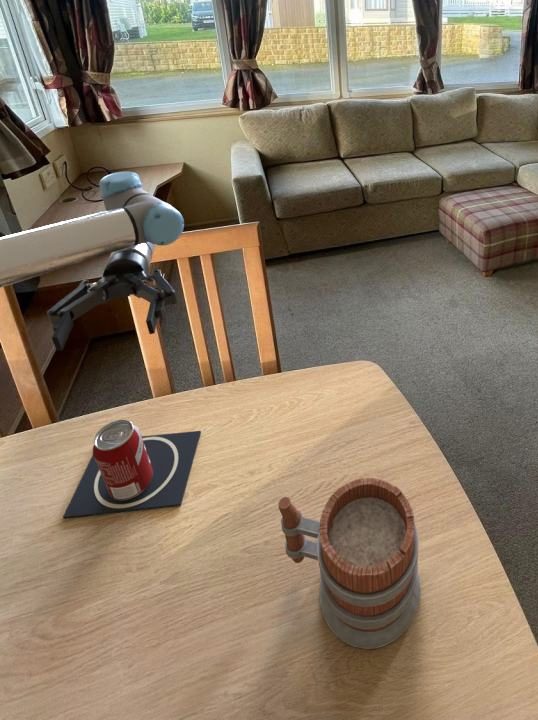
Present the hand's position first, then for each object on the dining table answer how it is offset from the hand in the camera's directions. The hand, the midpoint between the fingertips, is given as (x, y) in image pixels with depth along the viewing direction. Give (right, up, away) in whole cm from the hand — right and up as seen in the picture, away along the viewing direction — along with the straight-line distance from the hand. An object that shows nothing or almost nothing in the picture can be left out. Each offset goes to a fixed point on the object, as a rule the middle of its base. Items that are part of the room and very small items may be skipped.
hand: (104, 335), depth 78 cm
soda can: (+3, -26, +3) cm, 26 cm away
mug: (+40, -32, -10) cm, 53 cm away
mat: (+2, -25, +6) cm, 26 cm away
